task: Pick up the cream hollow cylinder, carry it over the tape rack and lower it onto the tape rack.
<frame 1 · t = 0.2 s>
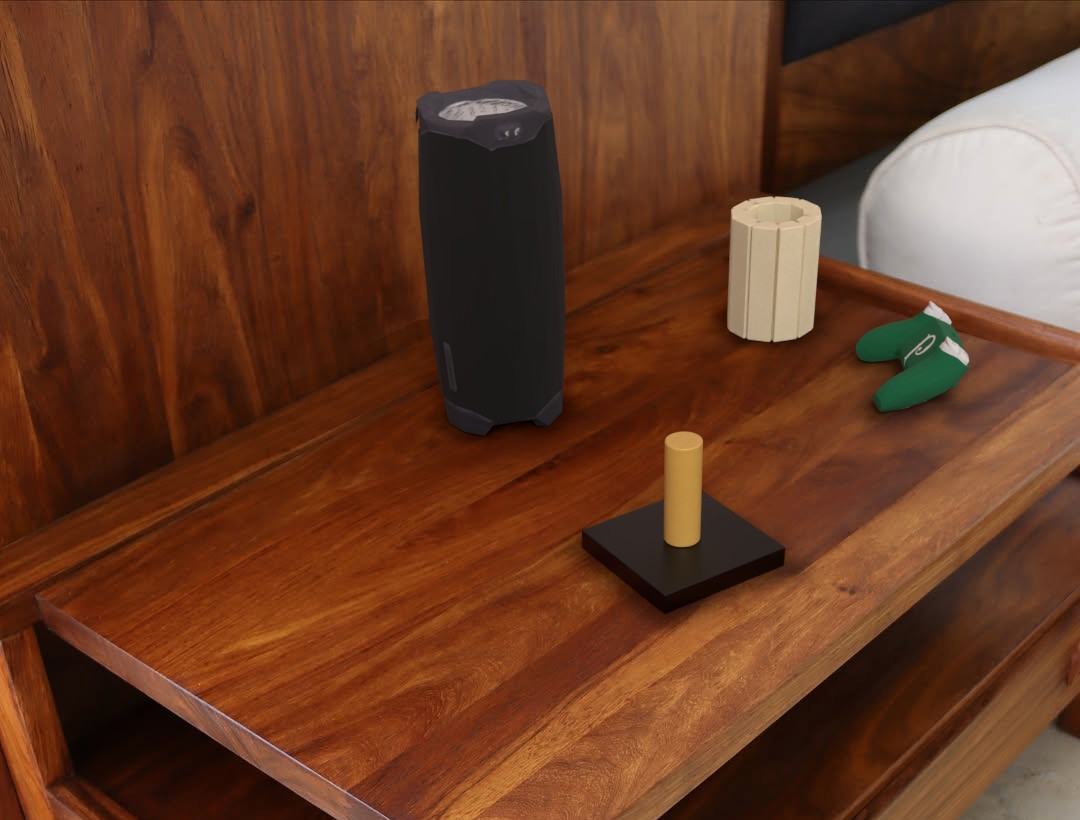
portable speaker: (504, 412, 95), on the nightstand
tape rack: (681, 556, 81), on the nightstand
cream hollow cylinder: (769, 323, 104), on the nightstand
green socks: (908, 387, 96), on the nightstand
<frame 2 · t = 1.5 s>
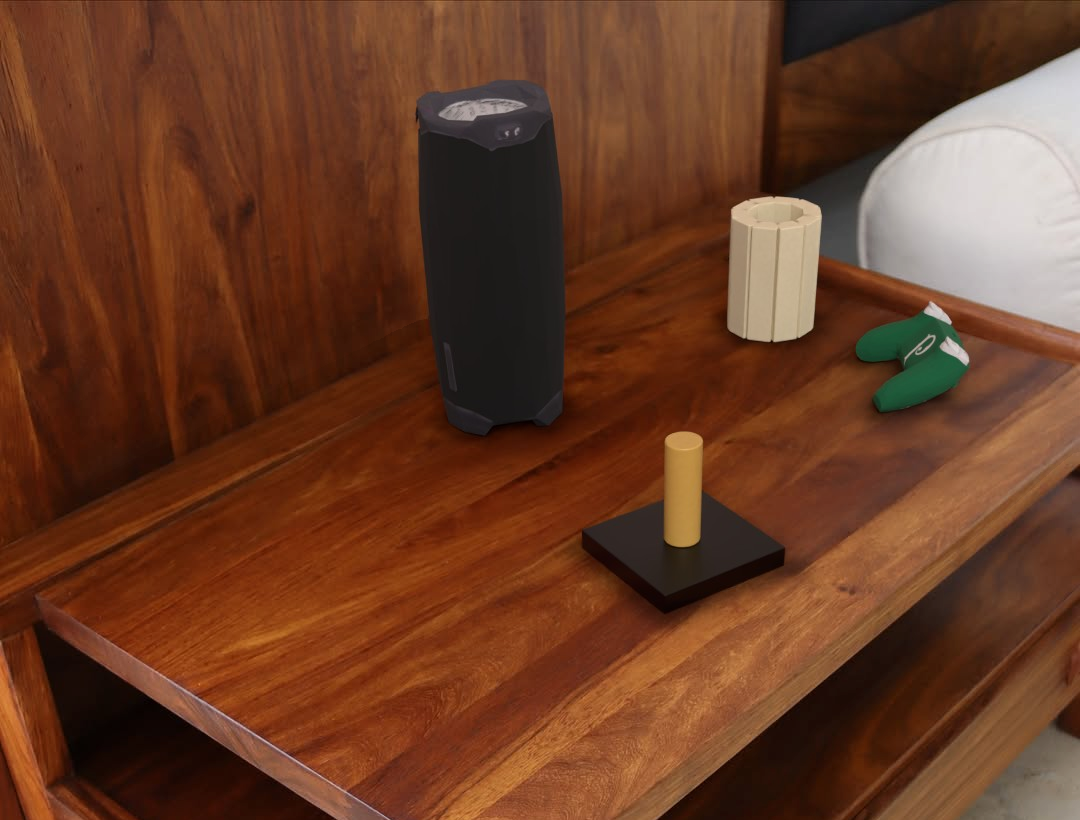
nothing on the nightstand moved.
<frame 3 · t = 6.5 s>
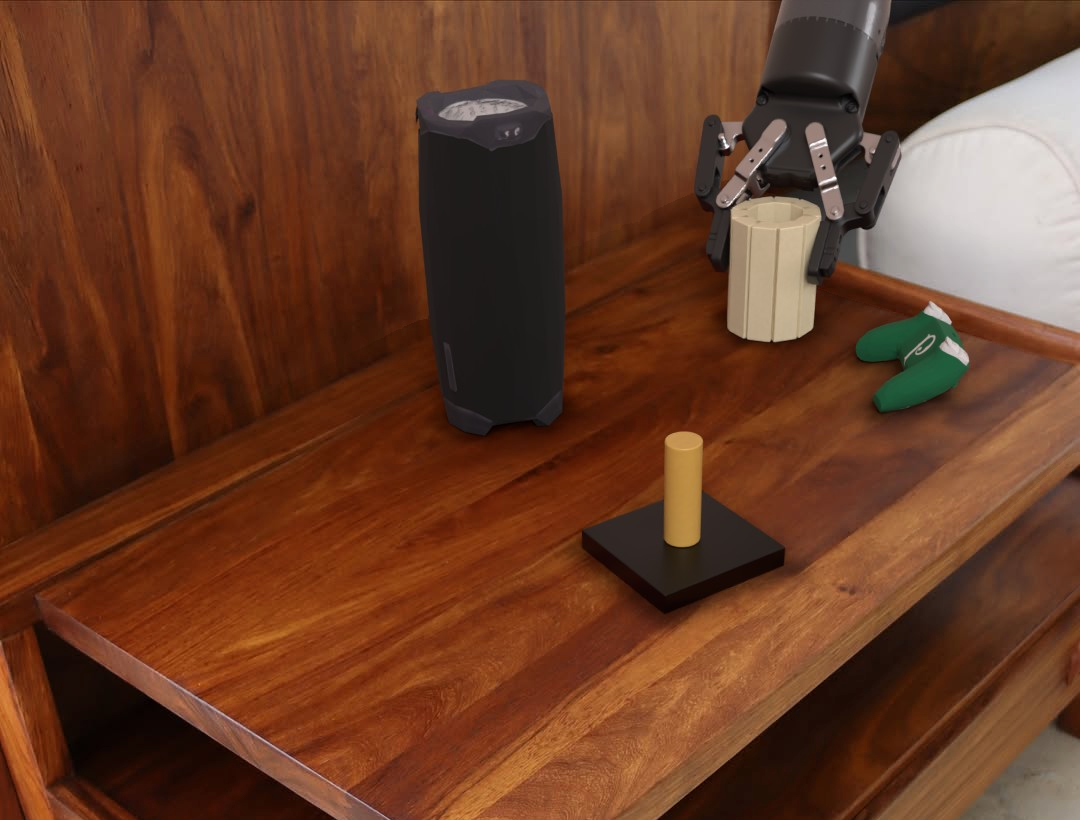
hand: (766, 273, 100), 4 cm above the nightstand, tool tilted 45°, fingers closed on cream hollow cylinder, 6 cm apart
cream hollow cylinder: (769, 324, 104), on the nightstand, touching gripper
everything else where it was.
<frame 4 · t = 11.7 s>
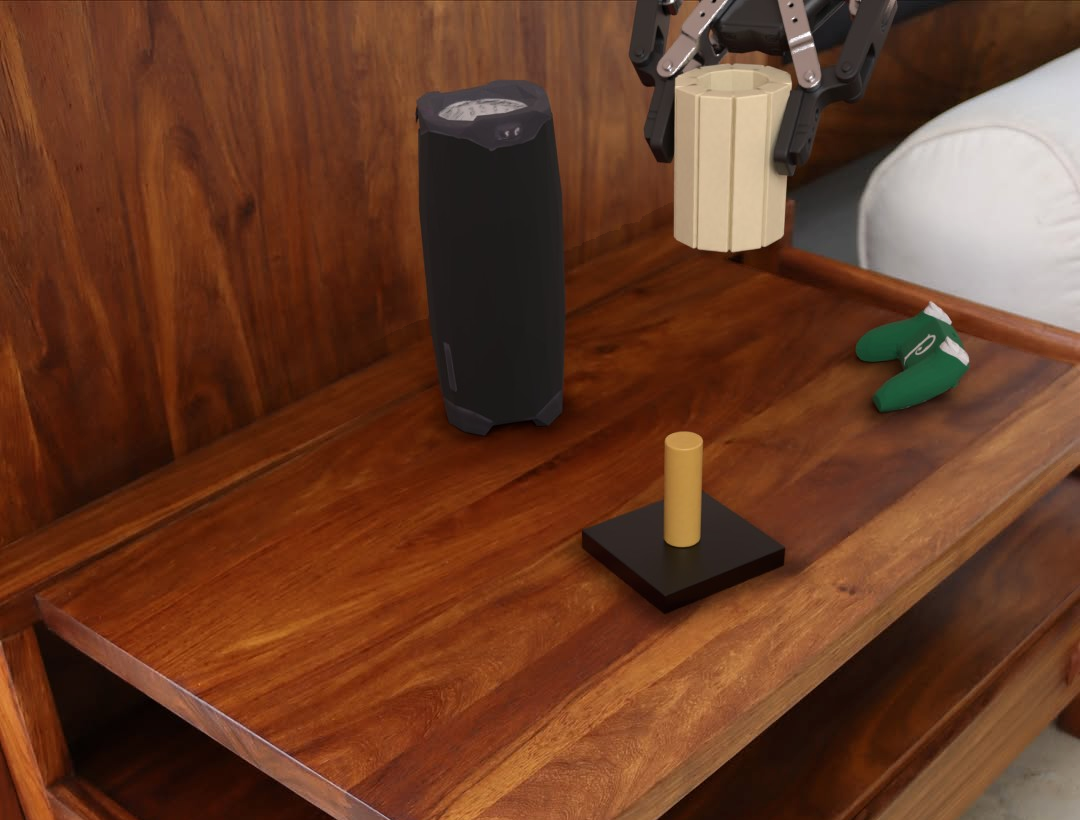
hand: (720, 161, 77), 18 cm above the nightstand, tool tilted 45°, fingers closed on cream hollow cylinder, 6 cm apart
cream hollow cylinder: (728, 231, 81), point 14 cm above the nightstand, touching gripper
everything else where it was.
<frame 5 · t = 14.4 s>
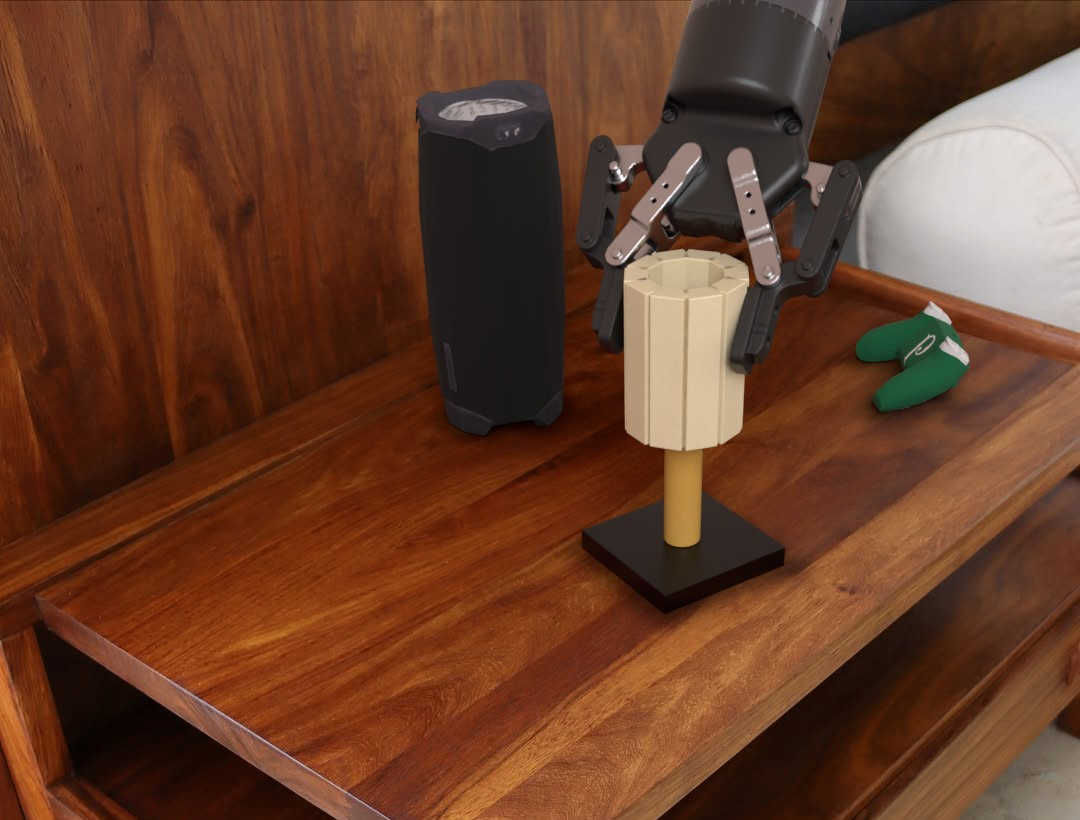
hand: (673, 357, 72), 13 cm above the nightstand, tool tilted 45°, fingers closed on cream hollow cylinder, 6 cm apart
cream hollow cylinder: (683, 422, 75), point 8 cm above the nightstand, touching gripper
everything else where it was.
when the fingers open (6 cm above the nightstand, at t = 16.9 s): cream hollow cylinder stays where it is, resting on tape rack.
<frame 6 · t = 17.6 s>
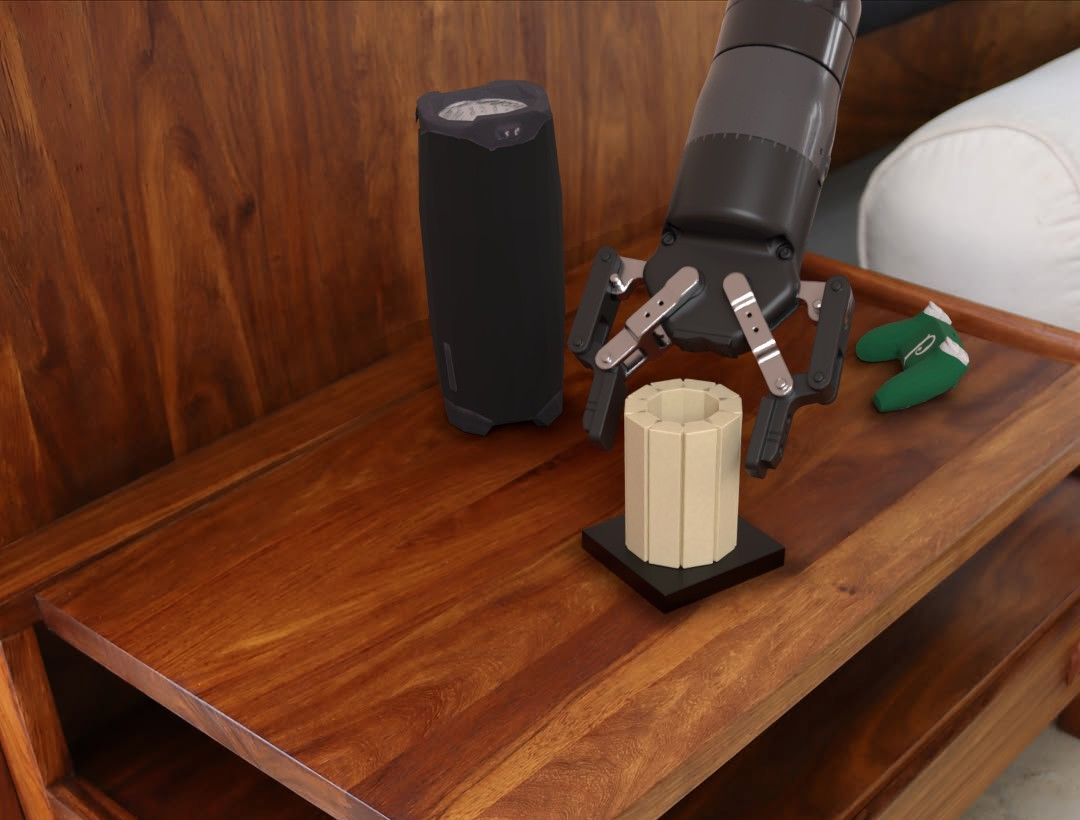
hand: (675, 460, 75), 7 cm above the nightstand, tool tilted 45°, fingers open, 8 cm apart
cream hollow cylinder: (680, 538, 80), point 1 cm above the nightstand, touching tape rack
everything else where it was.
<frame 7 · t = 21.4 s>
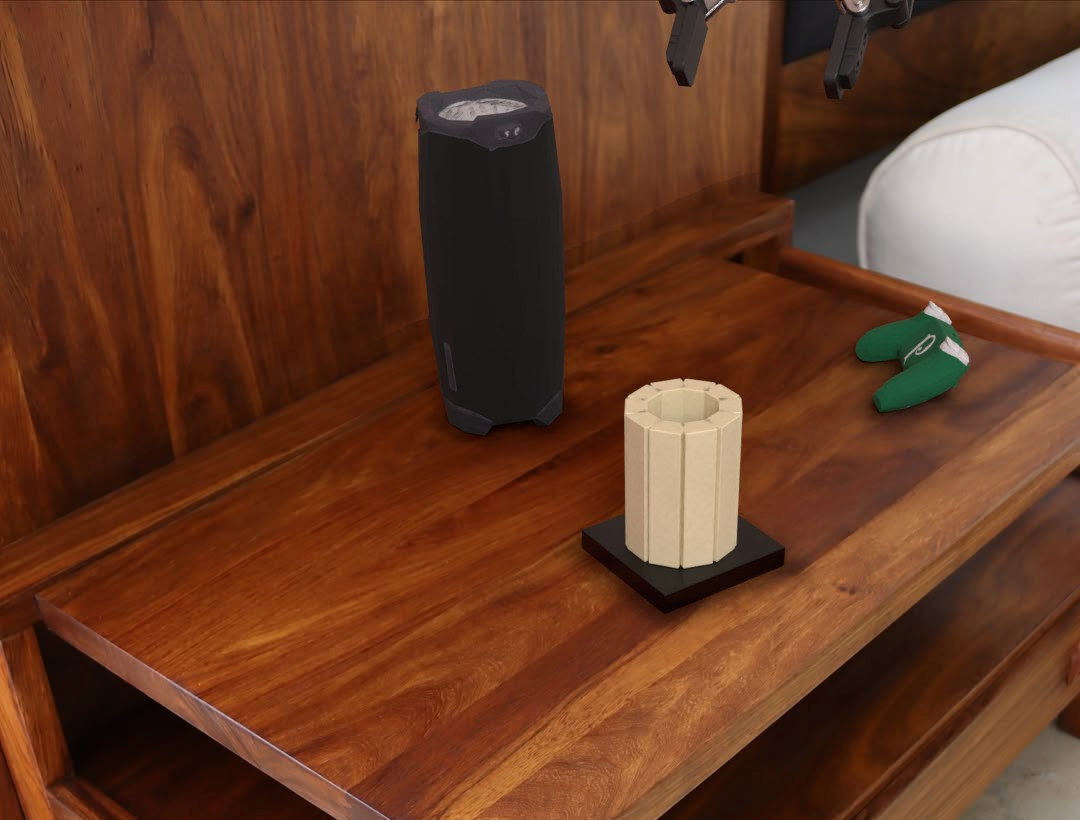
hand: (755, 85, 79), 20 cm above the nightstand, tool tilted 45°, fingers open, 8 cm apart
nothing on the nightstand moved.
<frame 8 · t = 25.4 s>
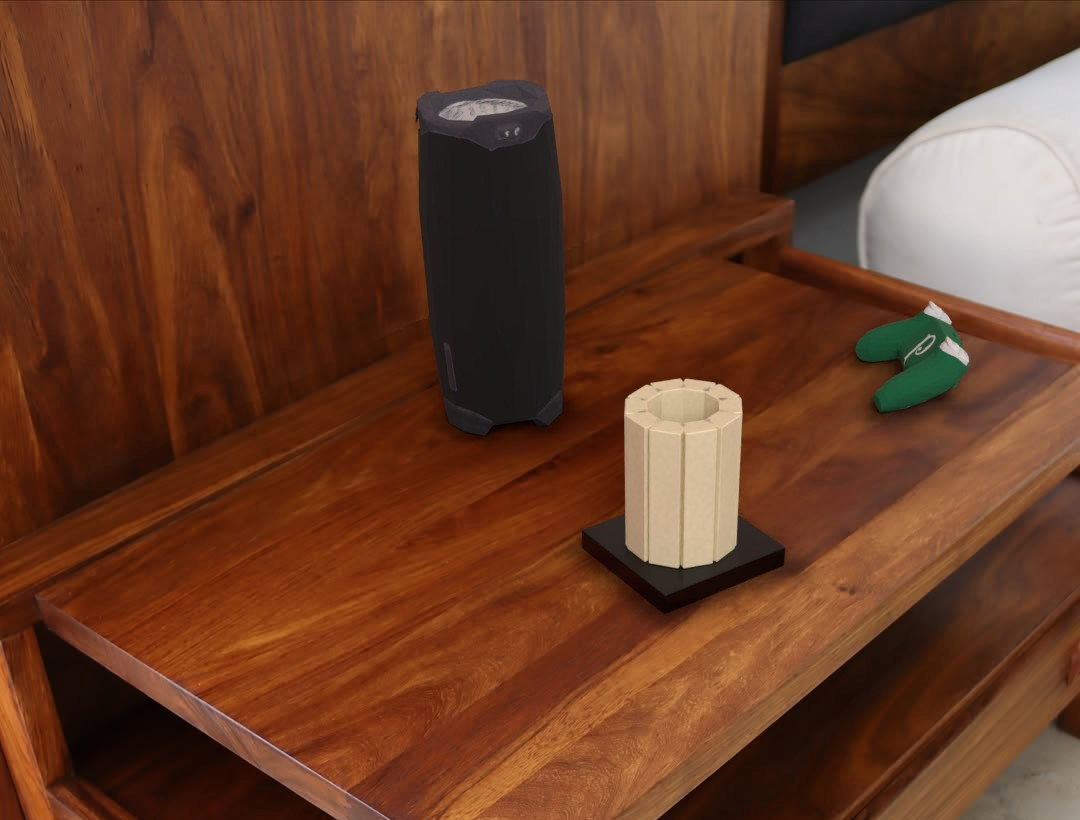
nothing on the nightstand moved.
at the end: cream hollow cylinder 0.1 cm from the tape rack (horizontally); cream hollow cylinder point 1.2 cm above the nightstand; the gripper is holding nothing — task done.
